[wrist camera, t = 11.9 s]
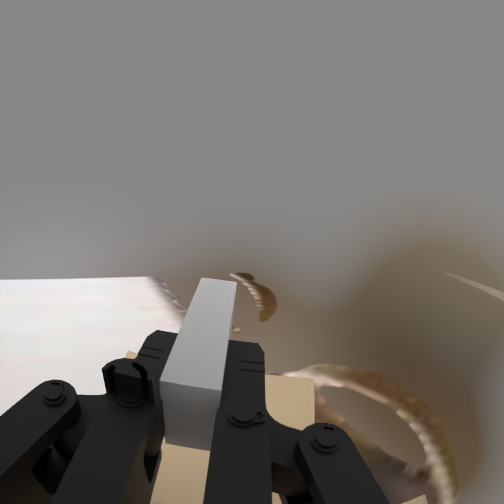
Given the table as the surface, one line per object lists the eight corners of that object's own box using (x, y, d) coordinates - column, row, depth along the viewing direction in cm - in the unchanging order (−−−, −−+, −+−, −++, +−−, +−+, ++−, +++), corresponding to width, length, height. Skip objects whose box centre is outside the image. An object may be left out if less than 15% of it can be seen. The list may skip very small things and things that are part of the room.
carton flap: (314, 378, 32) (312, 380, 32) (127, 350, 32) (128, 353, 32) (311, 518, 20) (309, 518, 20) (89, 481, 20) (91, 481, 20)
